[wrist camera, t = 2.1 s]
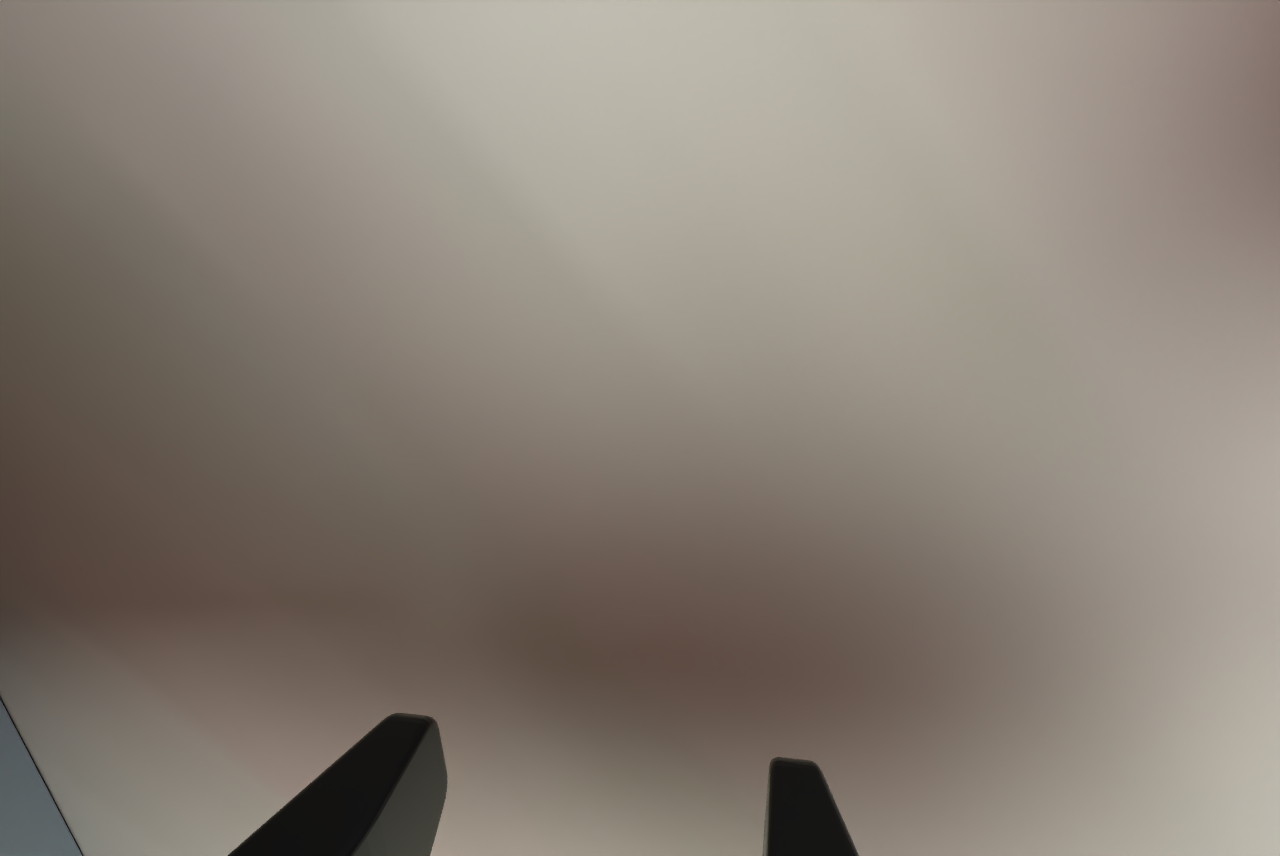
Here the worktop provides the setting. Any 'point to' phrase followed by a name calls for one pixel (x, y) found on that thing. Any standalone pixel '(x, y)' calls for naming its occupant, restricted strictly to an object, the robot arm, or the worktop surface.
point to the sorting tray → (27, 803)
